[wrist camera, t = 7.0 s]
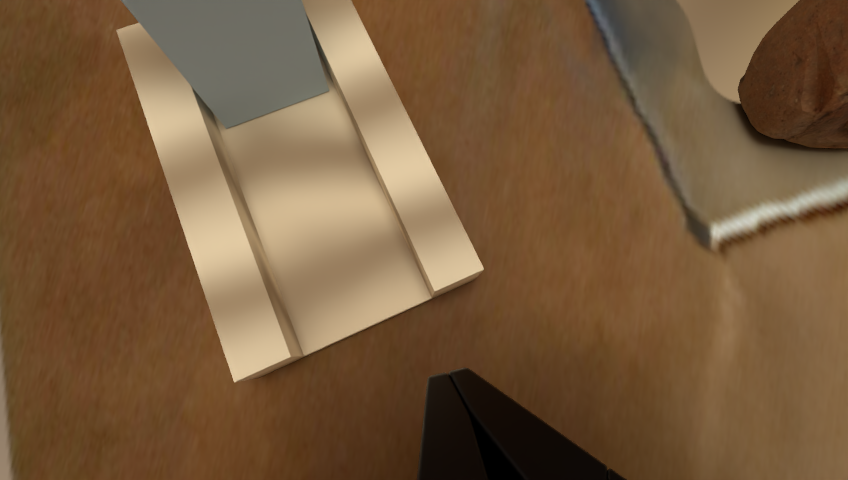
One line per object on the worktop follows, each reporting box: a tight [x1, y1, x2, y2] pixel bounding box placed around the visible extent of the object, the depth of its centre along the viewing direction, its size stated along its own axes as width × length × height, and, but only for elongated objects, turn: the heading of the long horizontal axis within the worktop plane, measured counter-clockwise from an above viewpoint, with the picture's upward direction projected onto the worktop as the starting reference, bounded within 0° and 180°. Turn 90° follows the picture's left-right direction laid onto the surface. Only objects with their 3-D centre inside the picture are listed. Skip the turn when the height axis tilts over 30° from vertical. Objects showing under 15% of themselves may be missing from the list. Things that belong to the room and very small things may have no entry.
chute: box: [117, 0, 484, 382], centre depth 22 cm, size 19×12×3 cm, turn 25°
